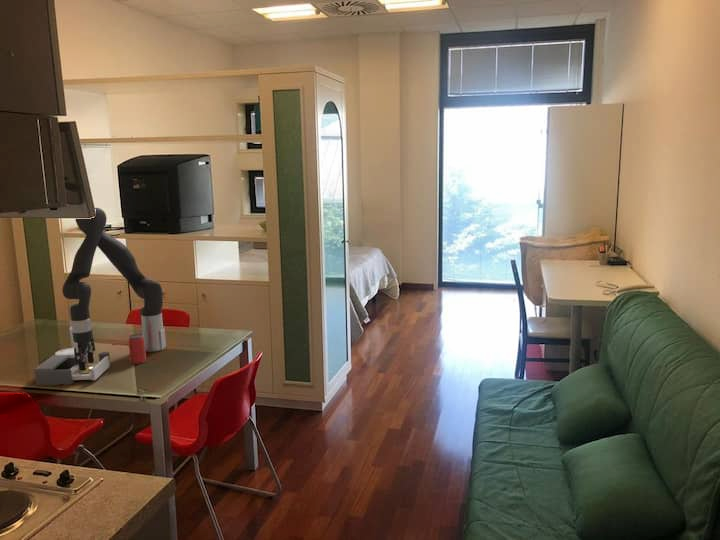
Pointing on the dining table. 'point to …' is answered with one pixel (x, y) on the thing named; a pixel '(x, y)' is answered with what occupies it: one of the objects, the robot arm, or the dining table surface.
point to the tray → (95, 371)
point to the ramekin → (66, 352)
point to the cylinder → (102, 355)
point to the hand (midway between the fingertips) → (87, 366)
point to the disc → (87, 370)
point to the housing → (56, 370)
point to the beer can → (137, 349)
